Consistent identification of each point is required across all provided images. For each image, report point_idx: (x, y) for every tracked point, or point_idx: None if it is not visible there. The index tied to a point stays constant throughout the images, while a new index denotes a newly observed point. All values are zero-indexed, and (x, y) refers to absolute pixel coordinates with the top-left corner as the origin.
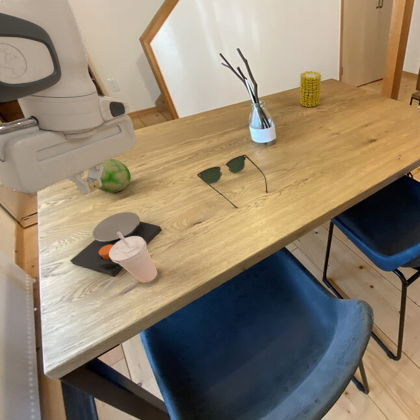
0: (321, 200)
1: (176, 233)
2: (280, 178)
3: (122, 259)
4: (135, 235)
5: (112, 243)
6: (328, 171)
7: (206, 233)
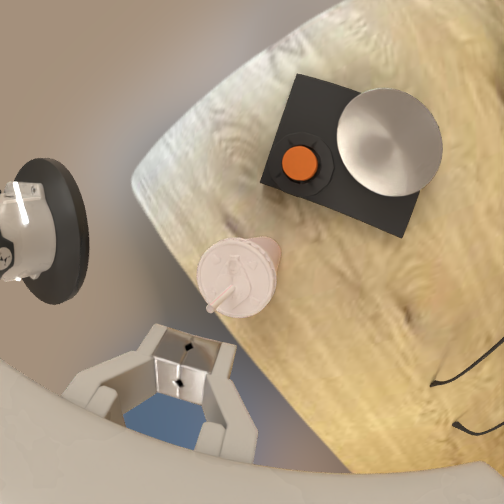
0: None
1: (382, 275)
2: None
3: (199, 284)
4: None
5: None
6: None
7: (370, 341)
